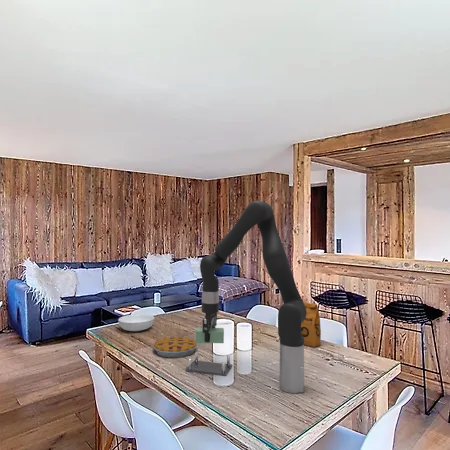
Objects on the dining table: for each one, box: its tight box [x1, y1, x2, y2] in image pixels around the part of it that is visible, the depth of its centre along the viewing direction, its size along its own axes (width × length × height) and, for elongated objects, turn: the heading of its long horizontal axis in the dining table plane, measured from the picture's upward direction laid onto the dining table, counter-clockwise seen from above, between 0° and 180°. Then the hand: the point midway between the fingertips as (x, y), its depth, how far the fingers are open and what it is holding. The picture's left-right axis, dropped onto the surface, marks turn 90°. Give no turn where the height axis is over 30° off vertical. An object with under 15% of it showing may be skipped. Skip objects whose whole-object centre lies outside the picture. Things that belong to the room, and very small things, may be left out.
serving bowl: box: [118, 313, 155, 332], centre depth 214 cm, size 21×21×7 cm
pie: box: [153, 335, 198, 358], centre depth 177 cm, size 22×22×5 cm
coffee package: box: [301, 301, 322, 348], centre depth 190 cm, size 10×12×22 cm
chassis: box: [185, 351, 233, 377], centre depth 155 cm, size 18×11×5 cm, turn 75°
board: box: [195, 327, 225, 344], centre depth 155 cm, size 12×6×5 cm, turn 91°
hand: (209, 339), depth 155 cm, fingers closed on board, 6 cm apart
